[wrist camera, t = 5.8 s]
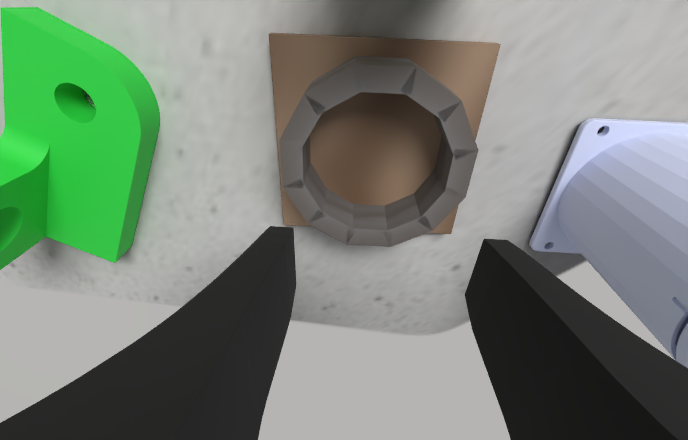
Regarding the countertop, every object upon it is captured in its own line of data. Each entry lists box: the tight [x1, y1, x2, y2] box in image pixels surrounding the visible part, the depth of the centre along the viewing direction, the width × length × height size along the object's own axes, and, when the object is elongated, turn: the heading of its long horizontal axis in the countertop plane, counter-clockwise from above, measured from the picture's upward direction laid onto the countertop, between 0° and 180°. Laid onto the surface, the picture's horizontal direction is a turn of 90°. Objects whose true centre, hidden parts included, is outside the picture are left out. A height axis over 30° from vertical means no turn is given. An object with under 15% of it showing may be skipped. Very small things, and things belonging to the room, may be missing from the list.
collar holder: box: [269, 33, 501, 247], centre depth 16 cm, size 10×10×3 cm
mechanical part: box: [0, 7, 160, 270], centre depth 15 cm, size 12×6×8 cm, turn 151°
